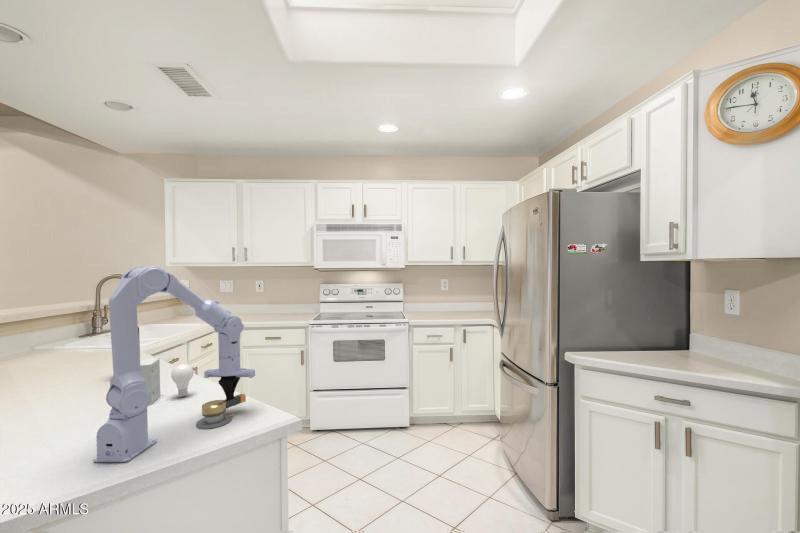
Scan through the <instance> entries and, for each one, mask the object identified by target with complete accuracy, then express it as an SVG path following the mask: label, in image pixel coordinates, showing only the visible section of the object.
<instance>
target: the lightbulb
mask: <svg viewBox="0 0 800 533" xmlns="http://www.w3.org/2000/svg"><path fill="white" fill-rule="evenodd" d="M170 375H171V376H170V377H171V379H172V381H173V382H174V384H176V388H177V392H178V394H177V395H178V397H180V398H184V397H186V396H188V394H189V393H188V387H189V384H190V381H191V380H192V379H193V376H194V369H193V367H192V366H191V365H190V364H188V363H182V364H178V365H175V367H174V368H173V369H172V370H171V374H170Z"/></svg>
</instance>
